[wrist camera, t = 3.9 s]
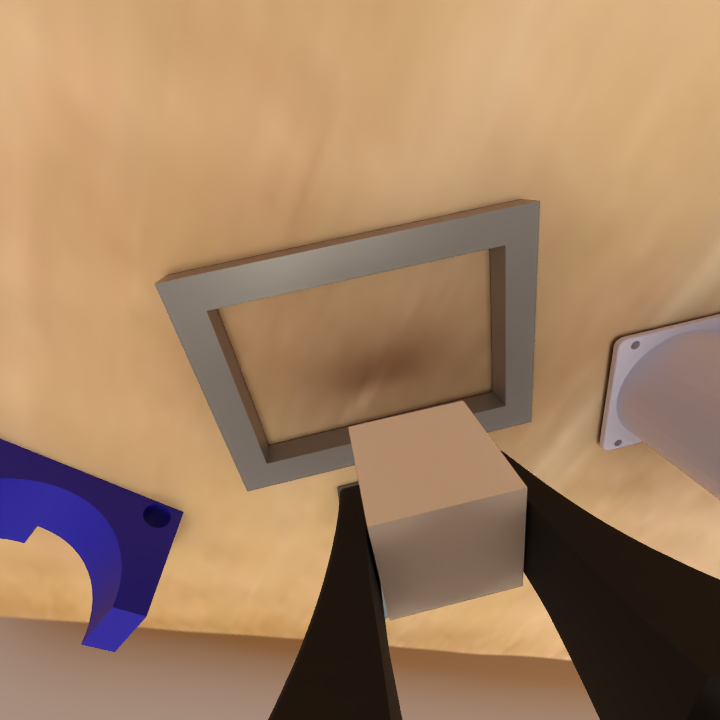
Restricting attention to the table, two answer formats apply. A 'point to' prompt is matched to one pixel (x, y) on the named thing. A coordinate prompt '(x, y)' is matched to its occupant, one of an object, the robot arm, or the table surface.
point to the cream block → (439, 508)
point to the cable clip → (91, 534)
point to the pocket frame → (344, 262)
